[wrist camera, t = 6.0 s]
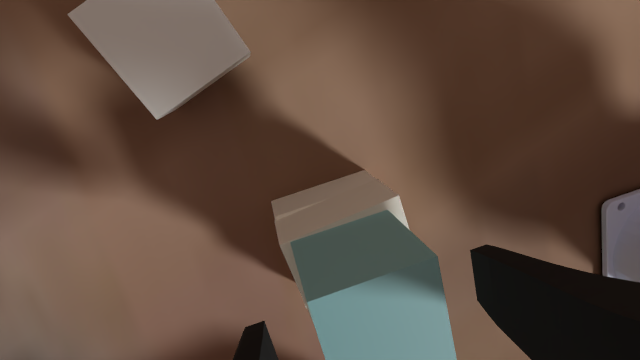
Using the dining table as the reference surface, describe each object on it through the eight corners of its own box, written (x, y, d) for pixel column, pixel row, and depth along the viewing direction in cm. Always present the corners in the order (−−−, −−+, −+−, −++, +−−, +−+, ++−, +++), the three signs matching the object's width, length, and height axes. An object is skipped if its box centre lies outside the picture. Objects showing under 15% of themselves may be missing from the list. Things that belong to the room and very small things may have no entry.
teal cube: (387, 209, 15) (437, 256, 11) (406, 293, 16) (456, 361, 12) (290, 242, 14) (306, 302, 10) (317, 325, 16) (340, 406, 12)
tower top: (377, 178, 17) (398, 195, 15) (405, 268, 19) (429, 296, 16) (274, 220, 17) (279, 245, 14) (312, 309, 18) (322, 343, 16)
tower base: (363, 168, 19) (379, 181, 17) (383, 250, 21) (401, 273, 19) (270, 199, 19) (274, 216, 17) (298, 281, 20) (306, 308, 18)
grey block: (189, -29, 15) (171, -62, 12) (249, 56, 17) (250, 52, 13) (110, 28, 15) (67, 14, 12) (176, 109, 17) (156, 119, 13)
